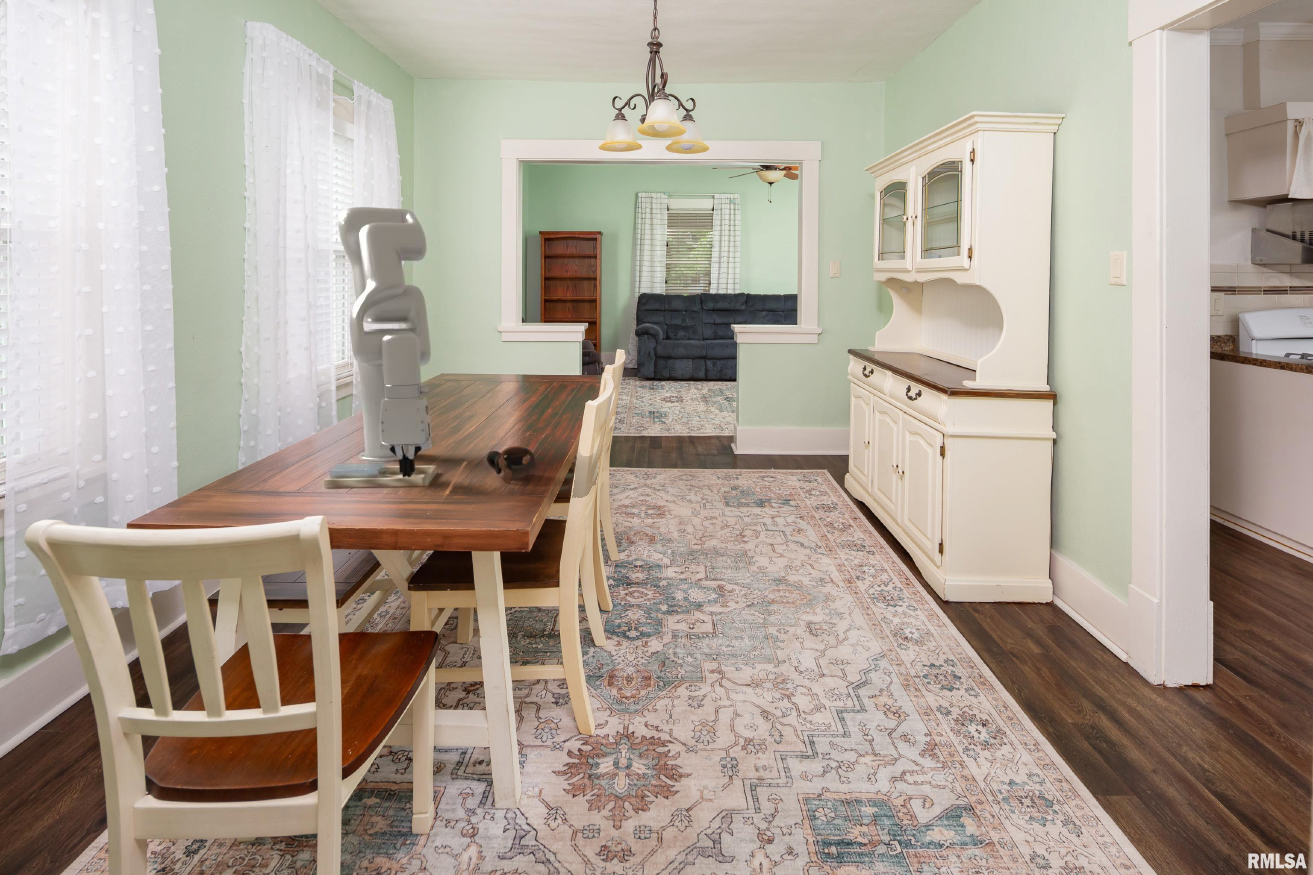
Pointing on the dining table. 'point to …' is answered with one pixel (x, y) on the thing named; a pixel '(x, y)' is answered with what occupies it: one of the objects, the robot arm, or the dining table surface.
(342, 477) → the cover plate
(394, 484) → the tray
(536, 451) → the dining table surface
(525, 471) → the pottery mug
